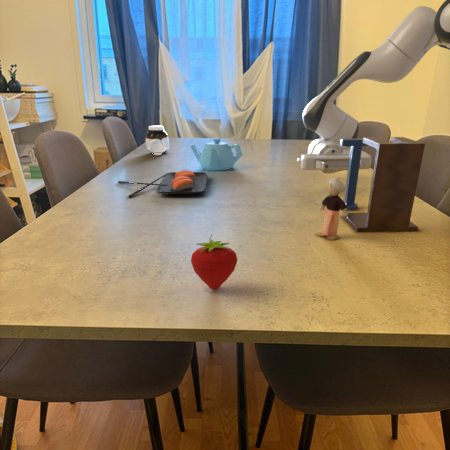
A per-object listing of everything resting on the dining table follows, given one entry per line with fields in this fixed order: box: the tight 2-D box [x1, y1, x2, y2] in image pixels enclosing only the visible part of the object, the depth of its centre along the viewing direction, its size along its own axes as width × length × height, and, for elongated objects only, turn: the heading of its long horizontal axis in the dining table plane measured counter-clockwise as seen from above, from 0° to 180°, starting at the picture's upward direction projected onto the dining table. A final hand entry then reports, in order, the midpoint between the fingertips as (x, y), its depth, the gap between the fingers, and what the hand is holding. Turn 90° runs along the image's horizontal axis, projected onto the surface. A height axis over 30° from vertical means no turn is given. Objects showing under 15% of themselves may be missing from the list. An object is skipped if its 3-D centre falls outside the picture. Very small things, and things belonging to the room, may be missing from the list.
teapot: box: [189, 137, 243, 172], centre depth 165 cm, size 15×15×11 cm
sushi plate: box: [117, 169, 208, 199], centre depth 138 cm, size 29×30×4 cm
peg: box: [340, 138, 370, 211], centre depth 112 cm, size 8×5×18 cm, turn 92°
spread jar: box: [145, 125, 170, 156], centre depth 196 cm, size 12×11×12 cm
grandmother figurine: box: [317, 178, 349, 241], centre depth 92 cm, size 8×4×13 cm, turn 44°
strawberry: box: [190, 234, 238, 291], centre depth 70 cm, size 6×8×10 cm
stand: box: [341, 136, 426, 233], centre depth 99 cm, size 14×12×19 cm
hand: (342, 166), depth 121 cm, fingers open, 8 cm apart
